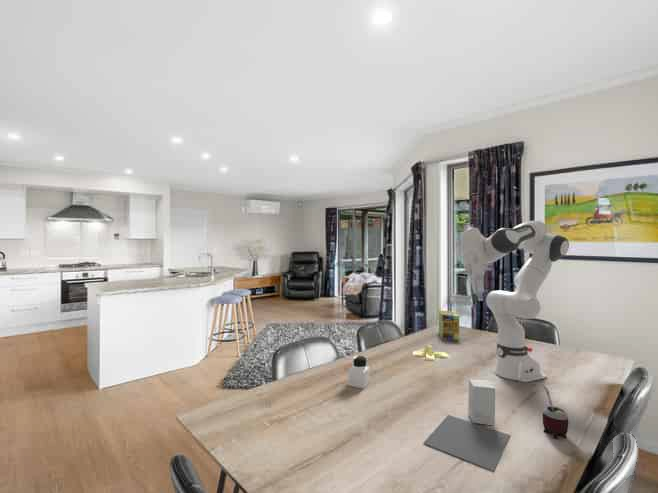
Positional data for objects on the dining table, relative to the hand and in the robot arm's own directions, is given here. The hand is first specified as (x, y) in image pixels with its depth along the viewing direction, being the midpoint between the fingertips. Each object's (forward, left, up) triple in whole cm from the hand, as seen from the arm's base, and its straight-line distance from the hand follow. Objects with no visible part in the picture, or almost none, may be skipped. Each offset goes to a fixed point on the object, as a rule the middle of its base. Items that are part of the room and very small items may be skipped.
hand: (480, 295), depth 131 cm
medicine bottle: (+41, -25, -42) cm, 64 cm away
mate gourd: (-11, +23, -42) cm, 49 cm away
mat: (+19, +21, -42) cm, 51 cm away
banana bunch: (-8, -56, -43) cm, 71 cm away
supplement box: (+7, +11, -42) cm, 44 cm away
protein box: (-39, -87, -42) cm, 104 cm away
